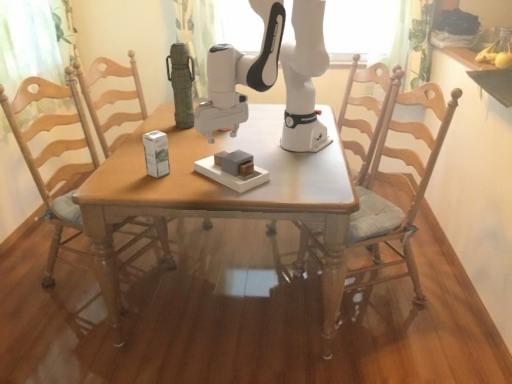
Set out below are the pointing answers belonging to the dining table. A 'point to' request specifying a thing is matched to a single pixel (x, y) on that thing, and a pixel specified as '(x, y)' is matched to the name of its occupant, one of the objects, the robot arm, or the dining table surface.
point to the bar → (243, 168)
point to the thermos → (182, 84)
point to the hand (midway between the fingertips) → (222, 140)
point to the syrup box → (156, 154)
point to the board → (232, 171)
